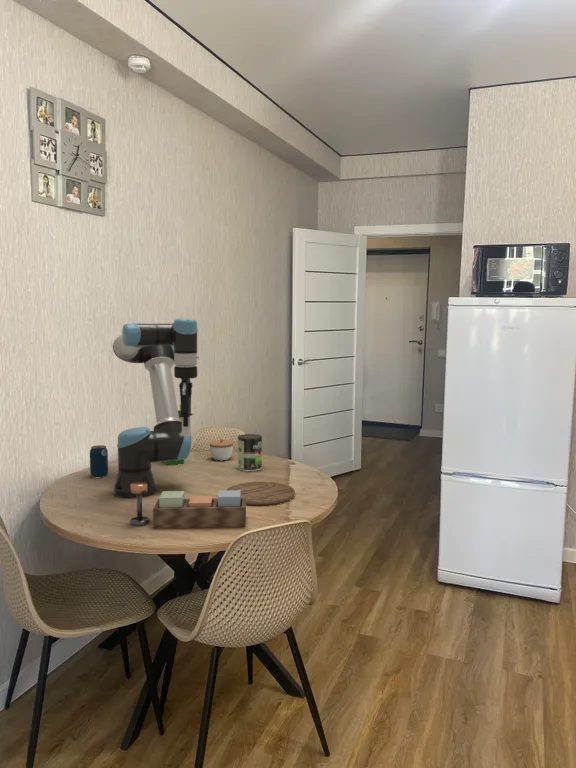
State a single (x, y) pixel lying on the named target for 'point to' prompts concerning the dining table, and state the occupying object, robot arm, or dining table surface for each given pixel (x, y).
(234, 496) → the slate button
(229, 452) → the lidded jar
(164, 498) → the sage button
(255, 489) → the trivet
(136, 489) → the indicator lamp
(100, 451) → the soda can
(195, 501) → the terracotta button
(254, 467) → the coffee can
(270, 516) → the dining table surface
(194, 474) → the dining table surface
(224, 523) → the button console
